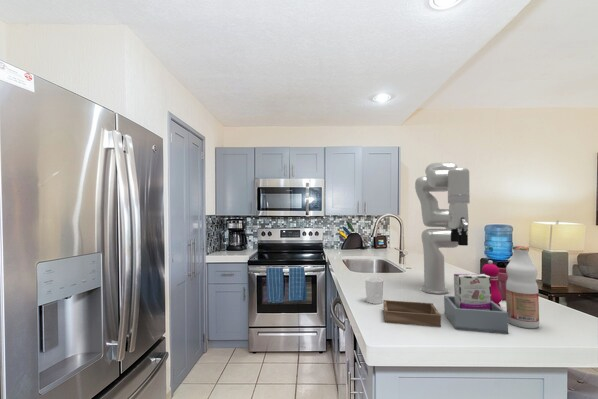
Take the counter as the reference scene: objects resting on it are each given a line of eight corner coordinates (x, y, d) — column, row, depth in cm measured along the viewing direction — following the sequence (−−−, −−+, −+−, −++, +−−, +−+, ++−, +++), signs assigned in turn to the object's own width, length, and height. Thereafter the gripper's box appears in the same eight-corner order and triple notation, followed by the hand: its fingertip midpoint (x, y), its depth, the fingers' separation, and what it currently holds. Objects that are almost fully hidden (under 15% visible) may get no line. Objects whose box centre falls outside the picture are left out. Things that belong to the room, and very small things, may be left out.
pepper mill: (505, 311, 120) (504, 262, 120) (485, 310, 121) (484, 261, 122) (497, 305, 127) (495, 259, 127) (478, 304, 128) (477, 258, 129)
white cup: (384, 300, 135) (383, 278, 135) (383, 305, 127) (382, 282, 128) (366, 298, 137) (366, 277, 138) (364, 303, 130) (364, 280, 130)
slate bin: (444, 313, 117) (444, 295, 117) (489, 316, 113) (489, 298, 114) (455, 329, 102) (455, 309, 102) (508, 333, 98) (507, 312, 98)
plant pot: (481, 295, 141) (480, 269, 142) (499, 292, 147) (498, 266, 147) (513, 304, 128) (512, 275, 129) (531, 300, 134) (531, 272, 134)
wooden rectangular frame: (383, 309, 122) (383, 300, 122) (432, 313, 117) (432, 303, 117) (385, 322, 108) (385, 311, 108) (441, 327, 104) (440, 315, 104)
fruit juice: (500, 320, 110) (498, 245, 111) (520, 318, 112) (518, 244, 113) (525, 330, 101) (522, 248, 102) (546, 327, 103) (543, 247, 104)
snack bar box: (484, 317, 110) (483, 273, 111) (492, 322, 105) (491, 276, 106) (454, 316, 111) (453, 273, 111) (460, 322, 106) (459, 276, 106)
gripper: (442, 199, 124) (442, 240, 124) (454, 200, 107) (454, 246, 107) (462, 199, 123) (462, 240, 123) (477, 199, 106) (477, 247, 106)
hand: (458, 243), depth 115 cm, fingers open, 9 cm apart
